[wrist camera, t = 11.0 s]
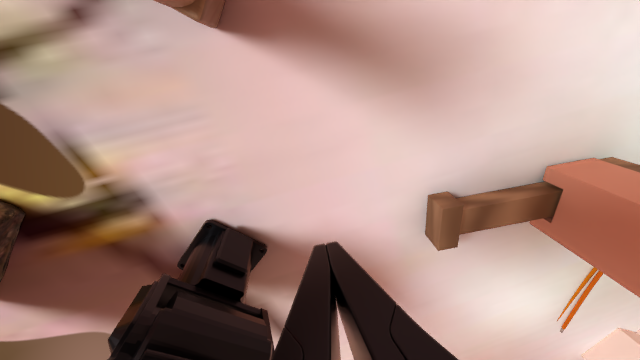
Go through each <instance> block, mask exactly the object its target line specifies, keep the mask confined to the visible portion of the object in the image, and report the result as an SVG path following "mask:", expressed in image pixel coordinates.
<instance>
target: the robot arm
mask: <svg viewBox="0 0 640 360" xmlns="http://www.w3.org/2000/svg"><path fill="white" fill-rule="evenodd" d="M208 225H211V226H208ZM261 249H264V250H261ZM266 252H267V246H266V245H265V244H262V243H260V242H258V241H256V240H254V239H252V238H250V237H248V236H245V235H243V234H241V233H239V232H237V231H235V230H232V229H230V228H228V227H226V226H224V225H222V224H219V223H217V222H215V221H213V220H207V221H206V222H205V223H204V224H203V226H202V227H201V229H200V230H199V232H198V233H197V235H196V236H195V238H194V239H193V241H192V242H191V244H190V246H189V247H188V249H187V250H186V252H185V253H184V255H183V256H182V258H181V259H180V261H179V262H178V265H177V266H178V268H180V269H182V272H181V275H180V277H179V279H178V280H177V279H174V278H171V277H170V275H167V274H164V273H163V274H162V276H161V278H160V279H159V281H158V282H157V281H155V282H154V283H153V284H152V285H147V286H142V288H141V289H140V291H139V292H138V294H137V296H136V297H135V299H134V300H133V302H132V303H131V305H130V306H129V308H128V309H127V311H126V313H125V314H124V316H123V317H122V319H121V320H120V322H119V323H118V325H117V326H116V328H115V329H114V331H113V332H112V334H111V336H110V337H109V339H108V344H109V348H110V352H111V354H110V356H109V358H108V360H341V357H340V343H339V329H338V315H337V307H338V310H339V313H340V317H341V320H342V323H343V326H344V329H345V332H346V335H347V338H348V342H349V345H350V348H351V351H352V354H353V357H354V360H458V359H457V358H456V357H455V356H454V355H452V354H451V353H450V352H449V351H448V350H446V349H445V348H444V347H443V346H442V345H440V344H439V343H438V342H437V341H436V340H435V339H433V338H432V337H431V336H430V335H429V334H428V333H427V332H425V331H424V330H423V329H422V328H421V327H420V326H419V325H418V324H417V323H416V322H415V321H414V320H413V319H412V318H411V317H410V316H409V315H408V314H407V313H406V312H405V311H404V310H403V309H402V308H401V307H400V306H399V305H397V304H396V302H395V301H394V300H393V299H392V298H391V297H390V296H389V295H388V294H387V293H386V292H385V291H384V290H383V289H382V288H381V287H380V286H379V285H378V284H377V283H376V282H375V281H374V279H373V278H372V277H371V276H370V275H369V274H368V273H367V272H366V271H365V270H364V269H363V268H362V267H361V266H360V265H359V264H358V263H357V262H356V261H355V260H354V259H353V258H352V257H351V256H350V255H349V254H348V253H347V252H346V251H345V250H344V248H343V247H342V246H341V245H340V244H339V243H338V242H330V243H327V244H326V245H325V244H319V245H315V246H314V248H313V251H312V253H311V256H310V259H309V261H308V264H307V267H306V269H305V272H304V275H303V277H302V280H301V283H300V285H299V288H298V291H297V294H296V296H295V299H294V302H293V304H292V307H291V310H290V312H289V315H288V318H287V320H286V323H285V328H283V331H282V333H281V336H280V339H279V341H278V344H277V346H276V349H275V351H274V345H273V340H272V334H271V329H270V323H269V318H268V312H267V310H265V309H262V308H261V309H258V308H255V307H252V306H249V305H247V304H245V298H246V293H247V287H248V281H249V276H250V272H251V271H252V270H253V268H254V267H255V266H256V265H257V263H258V262H259V261H260V260H261V258H262V257H263V256H264V255H265V254H266ZM184 264H185V265H184ZM335 298H336V299H335ZM336 302H337V305H336Z"/></svg>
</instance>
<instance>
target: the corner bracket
mask: <svg viewBox="0 0 640 360" xmlns="http://www.w3.org/2000/svg"><path fill="white" fill-rule="evenodd" d="M581 356H582V357H583V358H584V359H585V360H640V330H638V331H637V332H632V331H629V330H625V329H621V328H617V329H616V330H615V331H613V332H612V333H610V334H609V335H608V336H606V337H605V338H604V339H602V340H601V341H600V342H598V343H597V344H596V345H594V346H593V347H592V348H590V349H589V350H587V351H586V352H585V353H583V354H582V355H581Z"/></svg>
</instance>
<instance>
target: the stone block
mask: <svg viewBox="0 0 640 360" xmlns="http://www.w3.org/2000/svg"><path fill="white" fill-rule="evenodd" d="M24 216H25V213H24V212H23V211H22V210H21V209H19V208H18V207H16V206H14V205H10V204H7V203H4V202H2V201H1V200H0V282H1V280H2V278H3V276H4V273H5V271H6V268H7V265H8V261H9V257H10V254H11V251H12V248H13V245H14V243H15V240H16V237H17V234H18V232H19V228H20V225H21V223H22V221H23V218H24Z"/></svg>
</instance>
